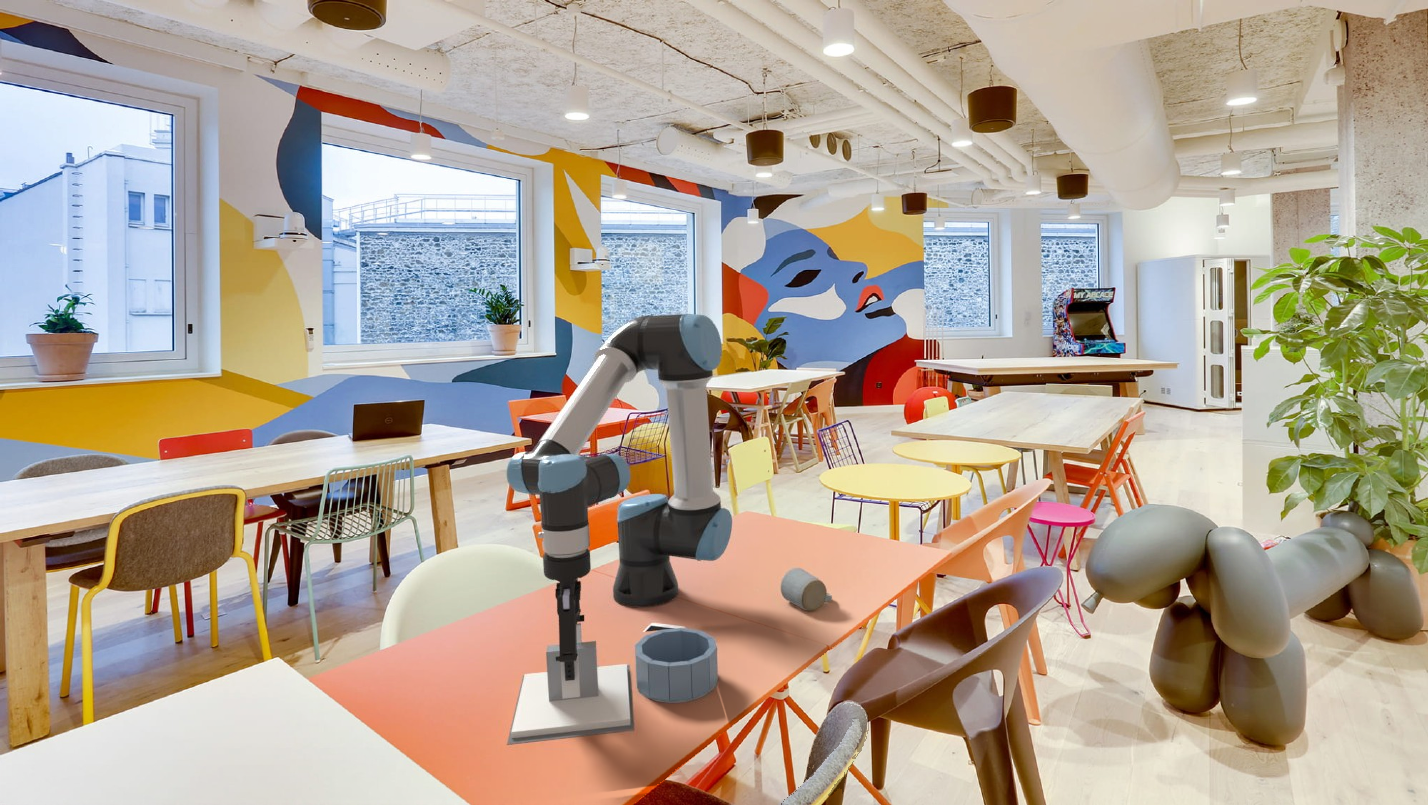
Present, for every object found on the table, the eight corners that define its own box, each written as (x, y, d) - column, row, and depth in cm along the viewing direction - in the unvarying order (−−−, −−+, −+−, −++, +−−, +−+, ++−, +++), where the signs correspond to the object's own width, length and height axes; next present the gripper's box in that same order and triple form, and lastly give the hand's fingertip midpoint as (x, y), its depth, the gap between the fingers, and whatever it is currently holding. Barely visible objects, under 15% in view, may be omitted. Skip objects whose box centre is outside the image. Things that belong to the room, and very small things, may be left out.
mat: (523, 678, 125) (523, 675, 125) (629, 668, 128) (629, 665, 128) (507, 748, 105) (506, 744, 105) (634, 733, 107) (634, 730, 107)
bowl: (635, 668, 128) (633, 632, 127) (710, 661, 130) (709, 625, 129) (638, 710, 114) (637, 669, 113) (723, 700, 116) (721, 661, 115)
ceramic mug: (803, 616, 148) (803, 581, 148) (779, 604, 155) (779, 570, 155) (840, 605, 154) (840, 572, 153) (816, 594, 161) (816, 561, 160)
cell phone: (617, 661, 132) (617, 657, 132) (651, 625, 147) (651, 622, 147) (655, 666, 129) (654, 663, 129) (686, 629, 145) (686, 626, 144)
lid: (525, 679, 124) (521, 628, 123) (626, 669, 126) (624, 619, 125) (511, 738, 106) (507, 679, 105) (630, 725, 109) (627, 667, 108)
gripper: (548, 531, 124) (555, 647, 127) (535, 578, 101) (543, 719, 104) (591, 528, 126) (596, 643, 128) (587, 574, 102) (594, 714, 105)
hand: (573, 677), depth 116 cm, fingers open, 11 cm apart
